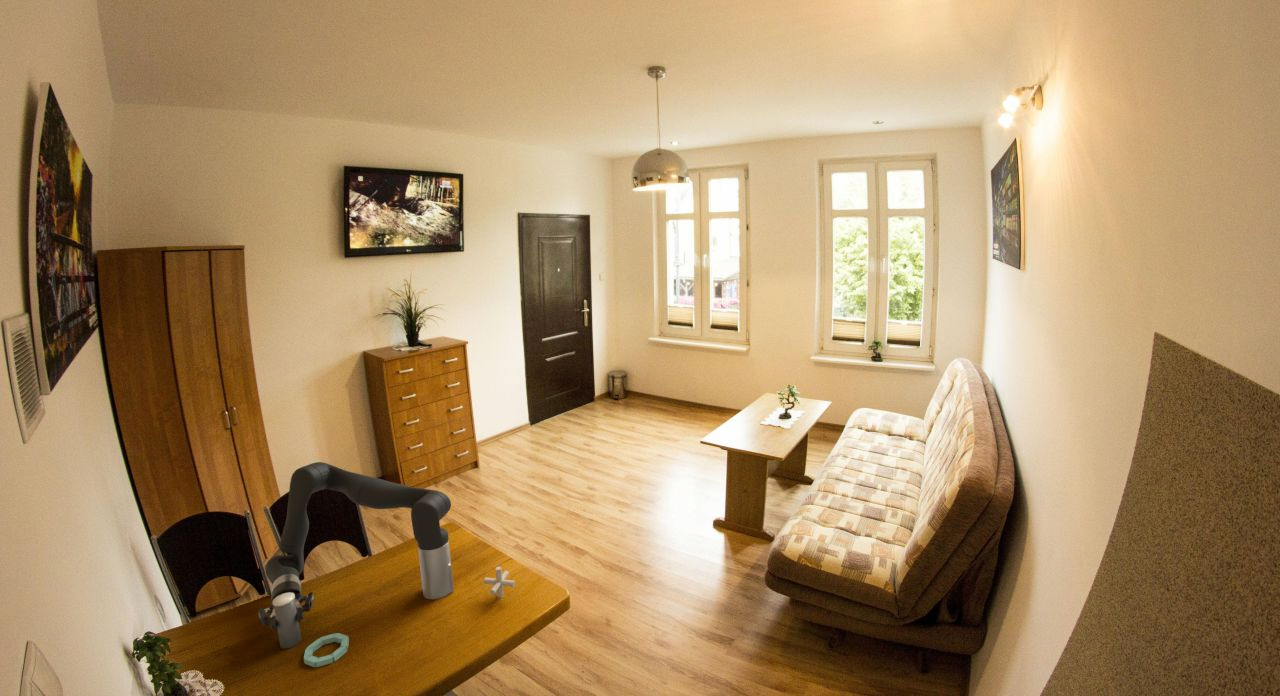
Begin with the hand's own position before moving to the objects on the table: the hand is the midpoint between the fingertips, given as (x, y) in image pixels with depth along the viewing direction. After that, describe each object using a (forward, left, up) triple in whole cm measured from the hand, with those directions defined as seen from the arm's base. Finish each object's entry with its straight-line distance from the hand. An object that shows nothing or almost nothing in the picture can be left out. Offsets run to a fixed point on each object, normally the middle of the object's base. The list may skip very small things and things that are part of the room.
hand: (287, 623), depth 146 cm
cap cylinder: (0, -3, -8) cm, 8 cm away
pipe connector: (-58, +3, -8) cm, 58 cm away
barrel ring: (-10, +6, -8) cm, 14 cm away
